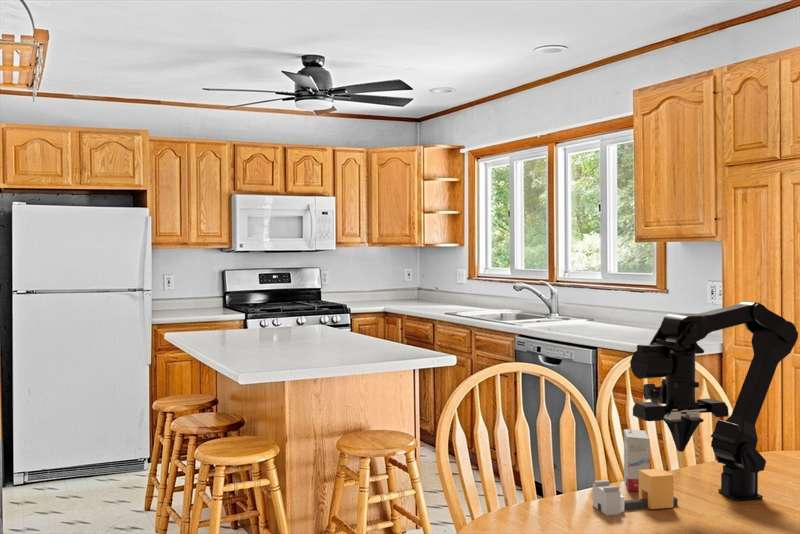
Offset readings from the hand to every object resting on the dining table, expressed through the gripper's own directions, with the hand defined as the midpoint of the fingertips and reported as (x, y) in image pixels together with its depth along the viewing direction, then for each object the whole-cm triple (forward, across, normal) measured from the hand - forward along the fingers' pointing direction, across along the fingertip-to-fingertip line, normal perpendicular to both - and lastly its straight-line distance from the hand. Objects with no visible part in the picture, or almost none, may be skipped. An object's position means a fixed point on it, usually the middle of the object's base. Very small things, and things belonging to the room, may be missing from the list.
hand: (680, 451), depth 158 cm
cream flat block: (+11, +14, 0) cm, 18 cm away
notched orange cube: (+11, +6, 0) cm, 12 cm away
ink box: (+11, +3, -13) cm, 17 cm away
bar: (+11, +10, 0) cm, 15 cm away
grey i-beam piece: (+11, +17, 0) cm, 20 cm away
